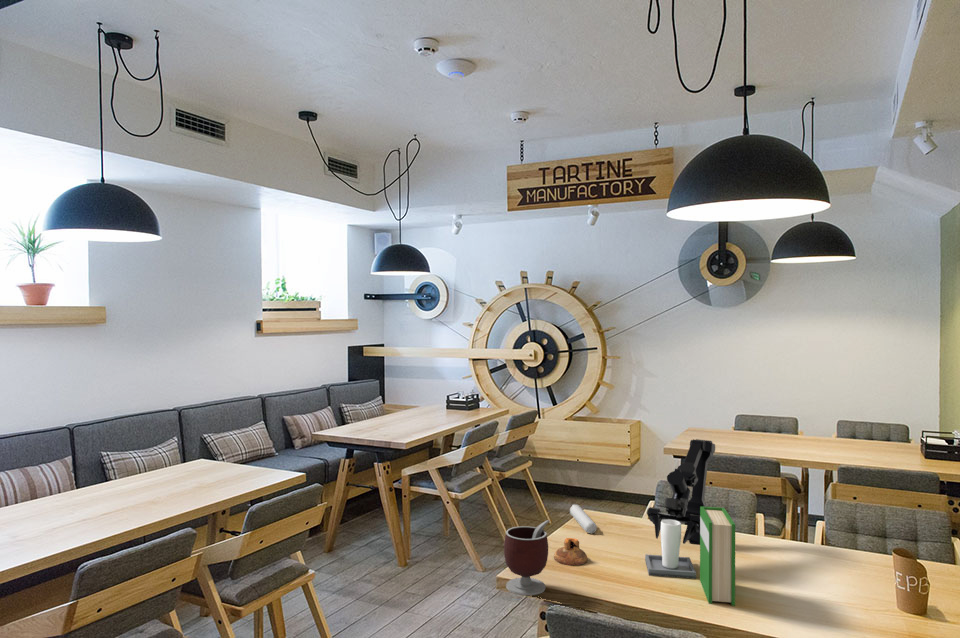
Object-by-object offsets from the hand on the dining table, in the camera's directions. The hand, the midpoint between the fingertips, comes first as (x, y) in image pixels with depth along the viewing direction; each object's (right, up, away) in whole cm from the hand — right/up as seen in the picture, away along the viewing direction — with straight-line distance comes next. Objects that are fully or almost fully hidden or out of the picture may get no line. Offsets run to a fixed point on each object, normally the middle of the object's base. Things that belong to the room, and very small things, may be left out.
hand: (669, 540), depth 215 cm
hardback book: (+9, -10, -19) cm, 23 cm away
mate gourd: (-50, -9, -16) cm, 53 cm away
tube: (-22, -11, +47) cm, 53 cm away
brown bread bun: (-33, -10, +8) cm, 35 cm away
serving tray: (0, -10, 0) cm, 10 cm away
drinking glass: (0, -9, 0) cm, 9 cm away
